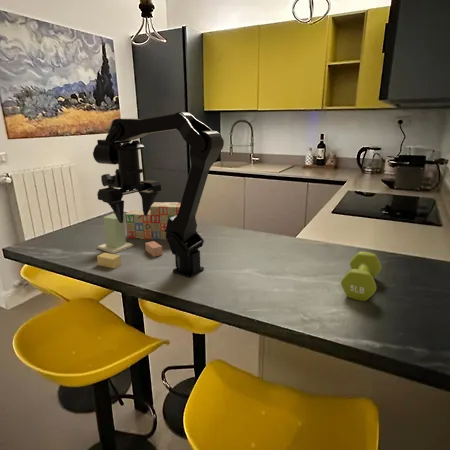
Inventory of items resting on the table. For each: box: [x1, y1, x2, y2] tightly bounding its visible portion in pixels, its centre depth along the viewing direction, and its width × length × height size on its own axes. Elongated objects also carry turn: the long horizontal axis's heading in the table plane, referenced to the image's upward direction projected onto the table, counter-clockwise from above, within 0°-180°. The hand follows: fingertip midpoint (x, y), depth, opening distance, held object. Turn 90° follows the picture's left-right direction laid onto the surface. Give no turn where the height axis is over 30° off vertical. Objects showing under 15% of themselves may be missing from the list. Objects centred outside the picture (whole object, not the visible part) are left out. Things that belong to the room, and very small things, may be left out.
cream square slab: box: [97, 241, 134, 255], centre depth 113 cm, size 8×8×2 cm
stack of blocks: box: [124, 201, 181, 240], centre depth 121 cm, size 21×6×12 cm, turn 87°
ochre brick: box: [96, 252, 122, 269], centre depth 99 cm, size 6×3×3 cm, turn 67°
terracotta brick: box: [145, 240, 163, 258], centre depth 108 cm, size 6×3×3 cm, turn 36°
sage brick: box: [103, 213, 127, 248], centre depth 111 cm, size 4×4×10 cm
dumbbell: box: [340, 250, 382, 302], centre depth 85 cm, size 16×8×7 cm, turn 151°
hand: (133, 219), depth 99 cm, fingers open, 9 cm apart
